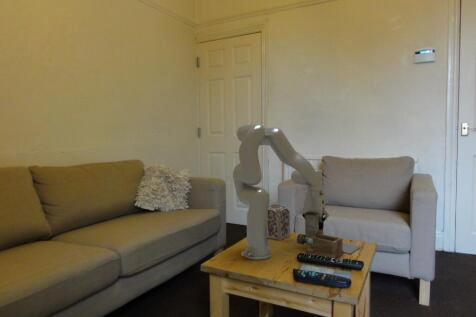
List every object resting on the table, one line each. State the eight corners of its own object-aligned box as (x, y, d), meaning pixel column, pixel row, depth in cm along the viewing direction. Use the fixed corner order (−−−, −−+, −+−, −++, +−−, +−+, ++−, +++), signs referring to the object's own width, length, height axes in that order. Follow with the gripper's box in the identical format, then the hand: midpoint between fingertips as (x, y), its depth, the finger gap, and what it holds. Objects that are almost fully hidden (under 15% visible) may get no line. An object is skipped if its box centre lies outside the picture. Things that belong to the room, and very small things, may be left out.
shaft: (322, 250, 159) (322, 240, 159) (296, 244, 168) (296, 235, 168) (327, 247, 163) (327, 237, 163) (301, 242, 172) (301, 232, 171)
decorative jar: (279, 241, 181) (279, 206, 180) (260, 237, 188) (260, 204, 187) (290, 235, 191) (290, 203, 190) (272, 232, 198) (272, 200, 197)
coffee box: (312, 239, 183) (312, 209, 182) (323, 241, 179) (323, 210, 178) (304, 244, 175) (304, 212, 174) (316, 246, 171) (316, 214, 170)
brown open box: (333, 259, 153) (334, 243, 153) (305, 253, 162) (305, 237, 162) (343, 253, 161) (343, 237, 160) (315, 247, 170) (315, 232, 169)
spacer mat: (350, 254, 160) (350, 253, 160) (326, 249, 167) (326, 248, 167) (360, 247, 169) (360, 246, 169) (336, 243, 177) (336, 241, 177)
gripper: (333, 194, 173) (333, 229, 174) (302, 190, 184) (302, 224, 185) (327, 196, 167) (326, 233, 168) (295, 192, 178) (295, 227, 179)
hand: (314, 228), depth 177 cm, fingers closed on coffee box, 6 cm apart
